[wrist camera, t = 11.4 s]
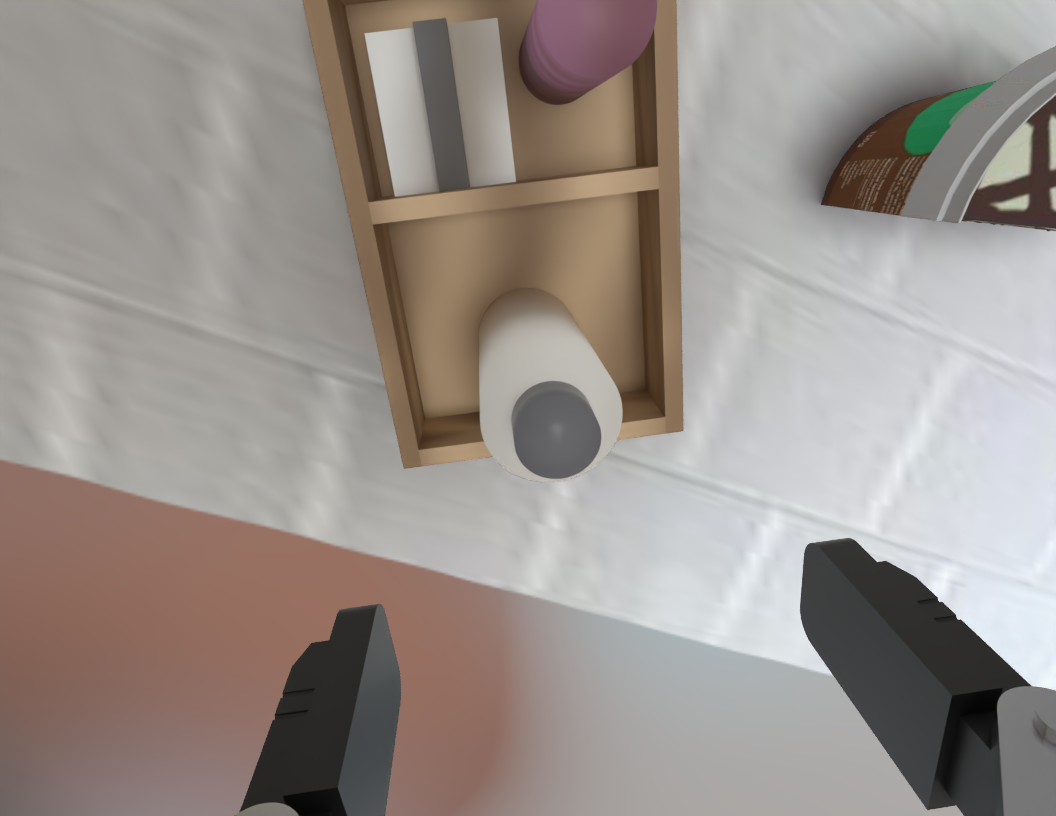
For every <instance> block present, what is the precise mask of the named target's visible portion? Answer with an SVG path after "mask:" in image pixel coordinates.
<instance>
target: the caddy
mask: <svg viewBox="0 0 1056 816" xmlns="http://www.w3.org/2000/svg"><path fill="white" fill-rule="evenodd" d="M303 5H304V9H305V14H306V18H307V23H308V28H309V32H310V37H311V42H312V46H313V51H314V55H315V60H316V65H317V69H318V74H319V79H320V83H321V88H322V92H323V97H324V102H325V106H326V111H327V116H328V120H329V125H330V129H331V134H332V139H333V143H334V148H335V153H336V157H337V162H338V166H339V171H340V176H341V180H342V185H343V190H344V194H345V199H346V203H347V208H348V213H349V217H350V222H351V227H352V231H353V236H354V240H355V245H356V250H357V254H358V259H359V263H360V268H361V273H362V277H363V282H364V287H365V291H366V296H367V300H368V305H369V310H370V314H371V319H372V324H373V328H374V333H375V337H376V342H377V347H378V351H379V356H380V361H381V365H382V370H383V374H384V379H385V384H386V388H387V393H388V398H389V402H390V407H391V411H392V416H393V421H394V425H395V430H396V435H397V439H398V444H399V448H400V453H401V458H402V462H403V467H404V469H405V468H412V467H420V466H427V465H434V464H442V463H449V462H457V461H464V460H472V459H479V458H487V457H493V456H492V455H491V454H490V452H489V450H488V449H487V447H486V445H485V442H484V440H483V437H482V433H481V428H480V395H479V328H480V324H481V321H482V318H483V316H484V314H485V312H486V311H487V309H488V308H489V306H490V305H491V304H492V303H493V302H494V301H495V300H496V299H497V298H499V297H500V296H502V295H503V294H506V293H508V292H510V291H513V290H516V289H521V288H535V289H540V290H544V291H546V292H549V293H551V294H553V295H554V296H556V297H557V298H559V299H560V300H561V301H562V302H563V303H564V304H565V306H566V307H567V308H568V310H569V311H570V313H571V314H572V316H573V318H574V319H575V321H576V322H577V324H578V326H579V327H580V329H581V330H582V332H583V334H584V335H585V337H586V338H587V340H588V342H589V343H590V345H591V346H592V348H593V350H594V351H595V353H596V354H597V356H598V357H599V359H600V361H601V362H602V364H603V365H604V367H605V369H606V370H607V372H608V373H609V375H610V377H611V378H612V380H613V381H614V383H615V385H616V387H617V389H618V391H619V394H620V398H621V402H622V409H623V413H622V424H621V429H620V432H619V435H618V438H617V440H621V439H628V438H636V437H643V436H650V435H658V434H665V433H673V432H680V431H683V377H682V315H681V254H680V193H679V131H678V70H677V9H676V0H303Z"/></svg>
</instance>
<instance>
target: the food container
mask: <svg viewBox="0 0 1056 816" xmlns="http://www.w3.org/2000/svg"><path fill="white" fill-rule="evenodd" d="M821 205H827V206H834V207H841V208H849V209H856V210H863V211H871V212H878V213H885V214H893V215H900V216H904V217H912V218H920V219H928V220H936V221H944V222H952V223H961V221H973V222H977V223H982V222H983V223H991V224H1000V225H1009V226H1018V227H1026V228H1034V229H1042V230H1047V231H1056V46H1055V47H1053V48H1051V49H1049V50H1047V51H1045V52H1043V53H1041V54H1039V55H1037V56H1035V57H1033V58H1031V59H1029V60H1027V61H1025V62H1024V63H1022V64H1021V65H1020V66H1018V67H1017V68H1015V69H1014V70H1012V71H1011V72H1009V73H1008V74H1006V75H1005V76H1003V77H1002V78H1000V79H999V80H998V81H994V82H990V83H986V84H982V85H978V86H974V87H970V88H966V89H963V90H959V91H955V92H951V93H947V94H943V95H939V96H935V97H931V98H927V99H923V100H919V101H916V102H913V103H910V104H907V105H904V106H902V107H900V108H898V109H896V110H894V111H892V112H890V113H889V114H887V115H885V116H884V117H883V118H881V119H880V120H878V121H877V122H876V123H874V124H873V125H872V126H870V127H869V128H868V129H867V130H866V131H865V132H864V133H863V134H862V135H861V136H860V137H859V138H858V139H857V140H856V141H855V142H854V144H853V145H852V146H851V147H850V148H849V150H848V151H847V152H846V153H845V155H844V156H843V158H842V159H841V161H840V163H839V164H838V166H837V167H836V169H835V171H834V173H833V175H832V177H831V179H830V181H829V183H828V185H827V188H826V191H825V194H824V197H823V200H822V203H821Z"/></svg>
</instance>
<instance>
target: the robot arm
mask: <svg viewBox="0 0 1056 816" xmlns="http://www.w3.org/2000/svg"><path fill="white" fill-rule="evenodd" d="M800 614H801V620H802V624H803V627H804V630H805V633H806V635H807V637H808V639H809V641H810V643H811V644H812V646H813V647H814V648H815V650H816V651H817V653H818V654H819V656H820V657H821V658H822V660H823V661H824V663H825V664H826V666H827V667H828V668H829V670H830V671H831V673H832V674H833V676H834V677H835V678H836V680H837V681H838V683H839V684H840V686H841V687H842V688H843V690H844V691H845V693H846V694H847V696H848V697H849V698H850V700H851V701H852V703H853V704H854V705H855V707H856V708H857V710H858V711H859V712H860V714H861V716H862V717H863V718H864V720H865V721H866V723H867V724H868V726H869V727H870V728H871V730H872V731H873V733H874V734H875V736H876V737H877V738H878V740H879V741H880V743H881V744H882V746H883V747H884V748H885V750H886V751H887V753H888V754H889V756H890V757H891V758H892V760H893V761H894V763H895V764H896V765H897V767H898V768H899V770H900V771H901V773H902V774H903V776H904V777H905V778H906V780H907V781H908V783H909V784H910V786H911V787H912V788H913V790H914V791H915V793H916V794H917V796H918V797H919V799H920V800H921V801H922V803H923V804H924V806H925V807H926V809H927V810H930V809H936V808H942V807H948V806H955V805H957V807H958V808H959V809H960V811H961V812H962V813H963V815H964V816H1056V691H1055V690H1051V689H1047V688H1042V687H1034V686H1031V685H1030V684H1029V683H1028V682H1027V681H1026V680H1025V679H1023V678H1022V677H1021V676H1020V675H1019V674H1018V673H1017V672H1016V671H1015V670H1014V669H1013V668H1012V667H1011V666H1010V665H1009V664H1008V663H1006V662H1005V661H1004V660H1003V659H1002V658H1001V657H1000V656H999V655H998V654H997V653H996V652H995V651H994V650H993V649H992V648H991V647H989V646H988V645H987V644H986V643H985V642H984V641H983V640H982V639H981V638H980V637H979V636H978V635H977V634H976V633H975V632H974V631H972V630H971V629H970V628H969V627H968V626H967V625H966V624H965V623H964V622H963V621H962V620H958V619H957V618H956V615H955V614H954V613H953V612H952V611H951V610H950V609H949V608H948V607H947V606H946V605H945V604H944V603H943V602H939V601H938V598H937V597H936V596H935V595H934V594H933V593H932V592H931V591H930V590H929V589H928V588H927V587H926V586H925V585H924V584H923V583H921V582H920V581H919V580H918V579H917V578H916V577H915V576H913V575H911V574H909V573H907V572H905V571H904V570H902V569H900V568H898V567H896V566H894V565H893V564H891V563H889V562H887V561H883V562H876V561H875V560H874V559H873V558H872V557H871V556H870V555H869V554H868V553H867V552H866V551H865V550H864V549H863V548H862V547H861V546H860V545H859V544H858V543H857V542H856V541H855V540H853V539H851V538H844V539H837V540H830V541H823V542H816V543H810V544H808V545H807V547H806V549H805V553H804V564H803V577H802V589H801V602H800ZM400 700H401V681H400V671H399V666H398V661H397V658H396V654H395V650H394V646H393V642H392V638H391V634H390V630H389V626H388V622H387V618H386V614H385V611H384V608H383V606H382V605H381V604H375V605H368V606H361V607H355V608H347V609H341V610H340V611H339V612H338V614H337V617H336V620H335V623H334V626H333V630H332V633H331V636H330V640H329V641H322V642H315V643H311V644H310V646H309V647H308V648H307V649H306V650H305V652H304V653H303V654H302V656H301V657H300V658H299V659H298V660H297V661H296V663H295V664H294V665H293V666H292V668H291V671H290V674H289V677H288V679H287V682H286V685H285V688H284V691H283V698H281V699H280V702H279V704H278V707H277V710H276V713H275V720H273V721H272V724H271V727H270V730H269V732H268V735H267V738H266V741H265V743H264V746H263V749H262V752H261V755H260V758H259V760H258V763H257V766H256V769H255V771H254V774H253V777H252V780H251V782H250V785H249V788H248V791H247V794H246V796H245V799H244V802H243V805H242V807H241V809H240V812H239V813H237V814H236V815H235V816H385V811H386V805H387V797H388V790H389V782H390V775H391V768H392V760H393V752H394V745H395V737H396V731H397V723H398V716H399V707H400Z"/></svg>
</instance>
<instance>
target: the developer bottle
mask: <svg viewBox="0 0 1056 816" xmlns="http://www.w3.org/2000/svg"><path fill="white" fill-rule="evenodd" d="M479 395H480V428H481V433H482V437H483V440H484V442H485V445H486V447H487V449H488V450H489V452H490V454H491V455H492V456H493V457H494V459H495V460H496V461H497V462H498V463H499V464H500V465H501V466H502V467H504V468H505V469H506V470H508V471H509V472H511V473H513V474H515V475H517V476H519V477H521V478H524V479H527V480H531V481H537V482H560V481H565V480H569V479H572V478H575V477H577V476H580V475H582V474H584V473H586V472H587V471H589V470H591V469H592V468H594V467H595V466H596V465H597V464H599V463H600V462H601V461H602V460H603V459H604V458H605V457H606V456H607V454H608V453H609V452H610V450H611V449H612V447H613V446H614V444H615V442H616V440H617V438H618V435H619V432H620V429H621V424H622V413H623V409H622V402H621V398H620V394H619V391H618V389H617V387H616V385H615V383H614V381H613V380H612V378H611V377H610V375H609V373H608V372H607V370H606V369H605V367H604V365H603V364H602V362H601V361H600V359H599V357H598V356H597V354H596V353H595V351H594V350H593V348H592V346H591V345H590V343H589V342H588V340H587V338H586V337H585V335H584V334H583V332H582V330H581V329H580V327H579V326H578V324H577V322H576V321H575V319H574V318H573V316H572V314H571V313H570V311H569V310H568V308H567V307H566V306H565V304H564V303H563V302H562V301H561V300H560V299H559V298H557V297H556V296H554V295H553V294H551V293H549V292H546V291H544V290H540V289H535V288H521V289H516V290H513V291H510V292H508V293H506V294H503V295H502V296H500V297H499V298H497V299H496V300H495V301H494V302H493V303H492V304H491V305H490V306H489V308H488V309H487V311H486V312H485V314H484V316H483V318H482V321H481V324H480V328H479Z"/></svg>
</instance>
